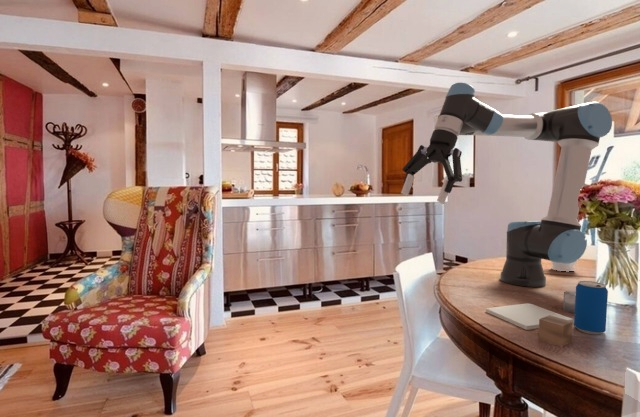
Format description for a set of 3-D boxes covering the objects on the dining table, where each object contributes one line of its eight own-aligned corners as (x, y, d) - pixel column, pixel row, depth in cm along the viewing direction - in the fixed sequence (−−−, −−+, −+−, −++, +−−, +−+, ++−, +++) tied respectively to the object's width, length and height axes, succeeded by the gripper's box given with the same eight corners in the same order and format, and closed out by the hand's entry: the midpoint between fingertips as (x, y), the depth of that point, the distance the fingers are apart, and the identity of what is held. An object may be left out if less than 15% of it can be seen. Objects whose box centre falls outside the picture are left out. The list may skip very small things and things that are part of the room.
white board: (528, 306, 112) (528, 303, 112) (573, 322, 99) (573, 319, 99) (485, 311, 107) (485, 308, 107) (526, 329, 94) (526, 326, 94)
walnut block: (548, 335, 91) (549, 315, 91) (571, 342, 87) (572, 321, 86) (538, 339, 88) (539, 319, 88) (561, 347, 84) (562, 325, 84)
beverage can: (606, 337, 89) (609, 288, 89) (574, 332, 93) (576, 284, 92) (603, 329, 95) (606, 282, 94) (573, 323, 98) (575, 279, 97)
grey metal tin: (573, 306, 112) (574, 290, 112) (593, 313, 107) (594, 296, 106) (558, 308, 111) (559, 292, 110) (577, 315, 105) (578, 298, 104)
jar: (577, 269, 162) (579, 235, 161) (578, 274, 153) (580, 238, 152) (548, 266, 168) (550, 233, 167) (548, 270, 159) (549, 236, 158)
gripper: (407, 126, 121) (384, 187, 120) (477, 129, 101) (450, 201, 100) (420, 136, 125) (397, 195, 125) (490, 140, 106) (464, 210, 105)
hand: (421, 198), depth 112 cm, fingers open, 13 cm apart
